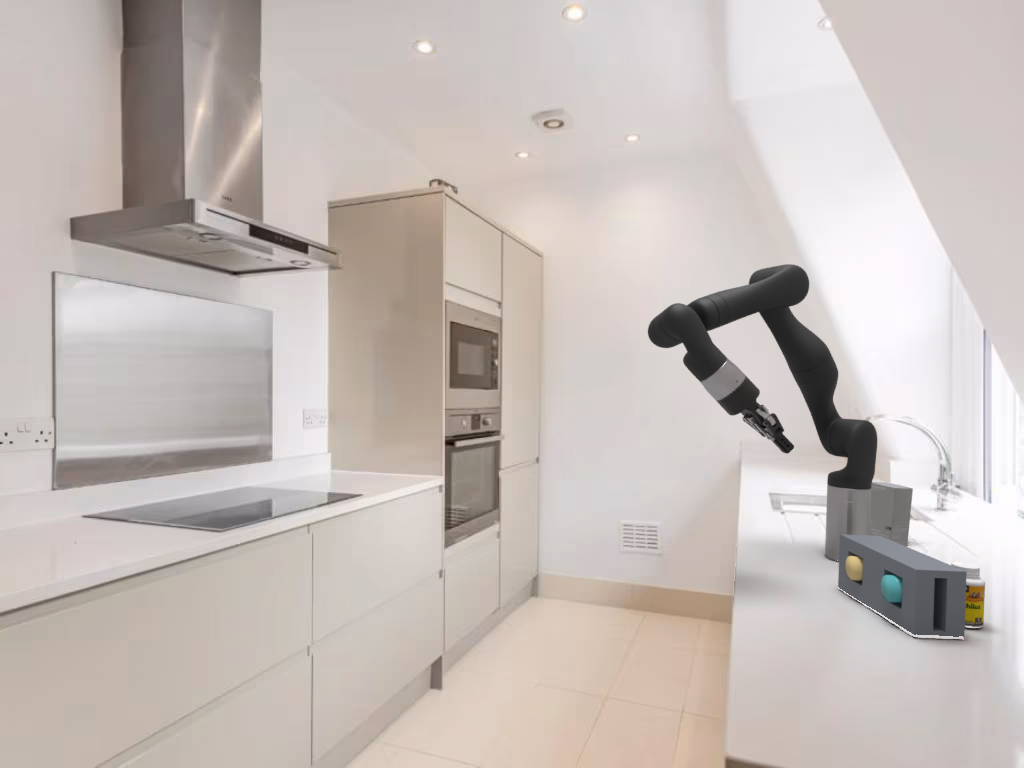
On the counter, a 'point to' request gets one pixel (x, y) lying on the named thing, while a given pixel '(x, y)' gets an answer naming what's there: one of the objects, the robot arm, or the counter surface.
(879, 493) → the skincare box
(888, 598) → the teal button
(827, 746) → the counter surface
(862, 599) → the console
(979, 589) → the supplement bottle
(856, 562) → the mustard button
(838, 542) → the robot arm
